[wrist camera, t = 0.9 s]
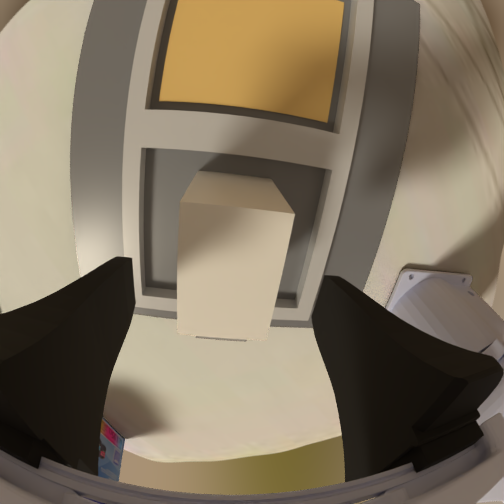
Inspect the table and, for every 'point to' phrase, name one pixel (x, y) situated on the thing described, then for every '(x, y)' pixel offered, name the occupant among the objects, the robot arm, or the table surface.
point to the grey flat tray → (241, 130)
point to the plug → (230, 255)
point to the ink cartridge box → (109, 453)
